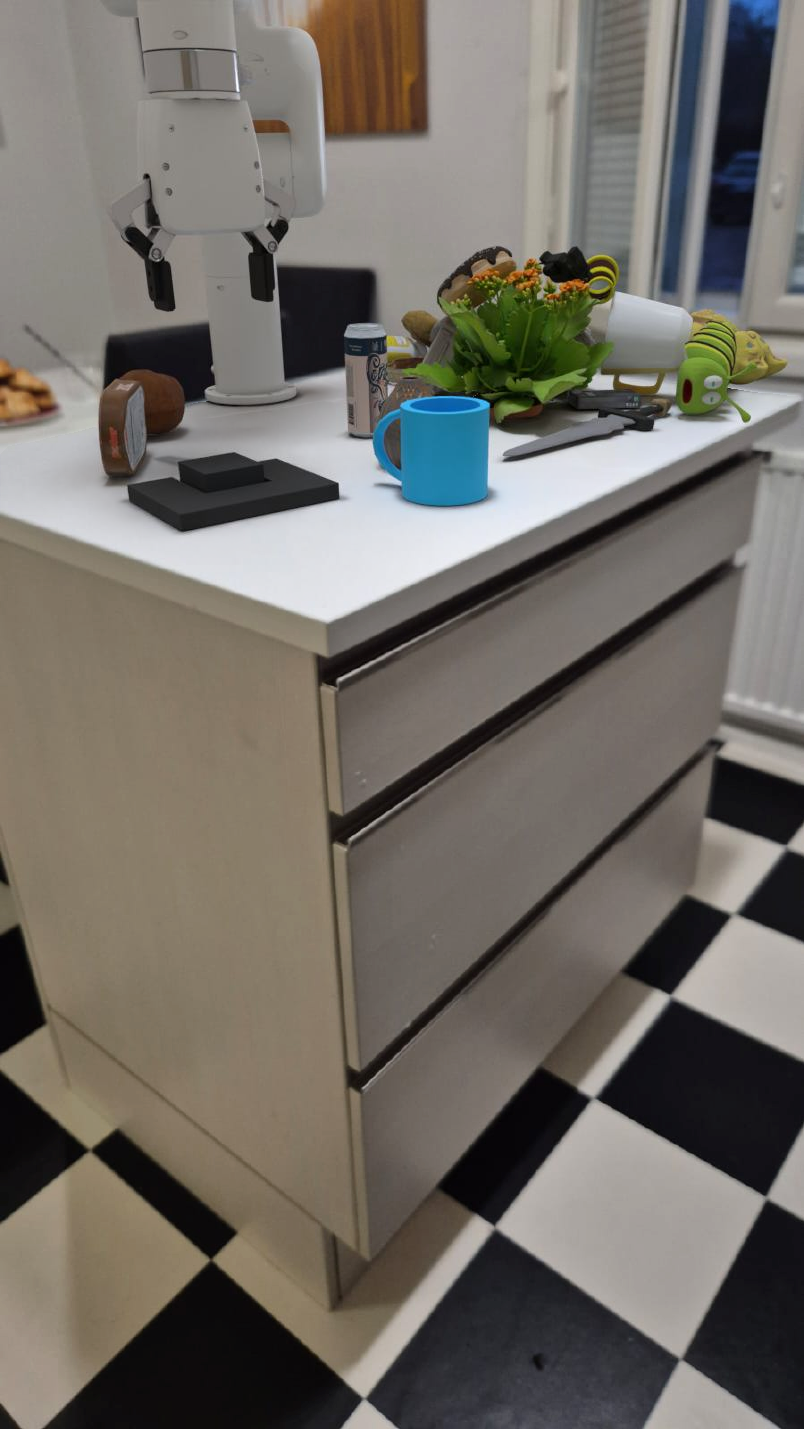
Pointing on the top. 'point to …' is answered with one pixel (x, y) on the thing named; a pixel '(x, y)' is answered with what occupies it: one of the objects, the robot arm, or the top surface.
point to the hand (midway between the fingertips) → (215, 305)
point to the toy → (708, 370)
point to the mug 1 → (440, 449)
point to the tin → (122, 427)
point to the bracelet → (402, 367)
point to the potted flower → (518, 343)
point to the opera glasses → (601, 277)
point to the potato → (159, 400)
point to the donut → (475, 264)
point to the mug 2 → (644, 339)
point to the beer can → (365, 376)
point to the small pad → (220, 472)
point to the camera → (441, 347)
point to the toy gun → (565, 266)
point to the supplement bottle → (404, 348)
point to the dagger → (598, 426)
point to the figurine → (744, 350)
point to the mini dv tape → (604, 399)
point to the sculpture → (419, 325)
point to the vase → (402, 392)
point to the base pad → (233, 496)
